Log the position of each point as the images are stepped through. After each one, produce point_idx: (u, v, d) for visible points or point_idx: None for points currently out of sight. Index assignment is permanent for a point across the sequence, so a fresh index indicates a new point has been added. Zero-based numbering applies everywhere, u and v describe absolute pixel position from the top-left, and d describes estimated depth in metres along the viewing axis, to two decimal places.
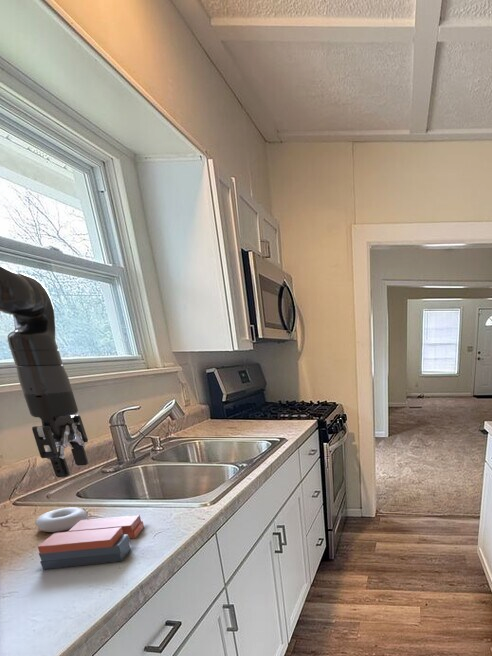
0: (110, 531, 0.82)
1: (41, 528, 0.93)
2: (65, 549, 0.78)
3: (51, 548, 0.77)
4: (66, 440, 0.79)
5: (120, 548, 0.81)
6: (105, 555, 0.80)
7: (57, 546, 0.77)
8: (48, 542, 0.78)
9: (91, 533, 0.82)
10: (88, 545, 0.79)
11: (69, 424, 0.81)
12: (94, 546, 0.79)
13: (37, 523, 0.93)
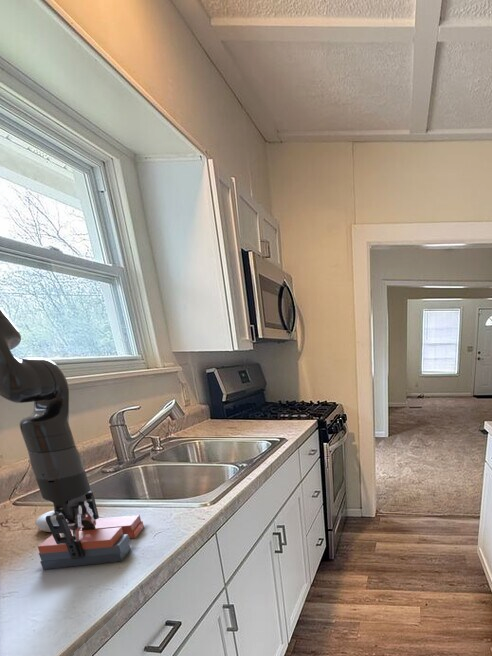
0: (110, 531, 0.82)
1: (41, 528, 0.93)
2: (65, 549, 0.78)
3: (51, 548, 0.77)
4: (78, 521, 0.77)
5: (120, 548, 0.81)
6: (105, 555, 0.80)
7: (57, 545, 0.77)
8: (48, 542, 0.78)
9: (91, 533, 0.82)
10: (88, 545, 0.79)
11: (81, 502, 0.79)
12: (94, 546, 0.79)
13: (37, 523, 0.93)
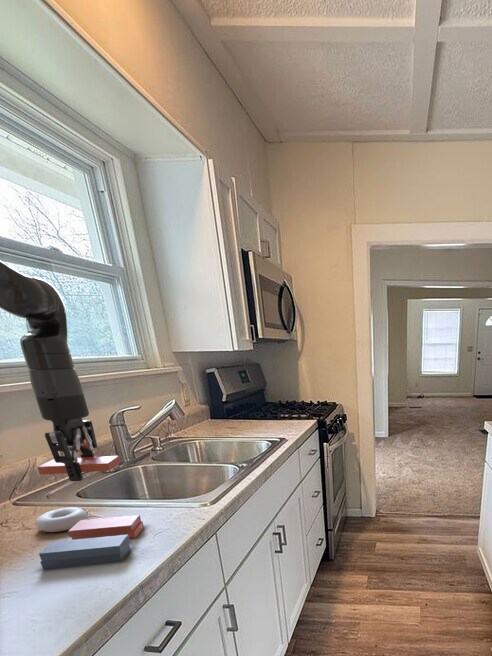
0: (108, 458, 0.85)
1: (41, 528, 0.93)
2: (64, 471, 0.80)
3: (50, 469, 0.80)
4: (77, 443, 0.79)
5: (120, 548, 0.81)
6: (105, 556, 0.80)
7: (56, 467, 0.80)
8: (47, 464, 0.80)
9: (90, 459, 0.84)
10: (86, 468, 0.81)
11: (80, 426, 0.81)
12: (92, 469, 0.81)
13: (37, 523, 0.93)
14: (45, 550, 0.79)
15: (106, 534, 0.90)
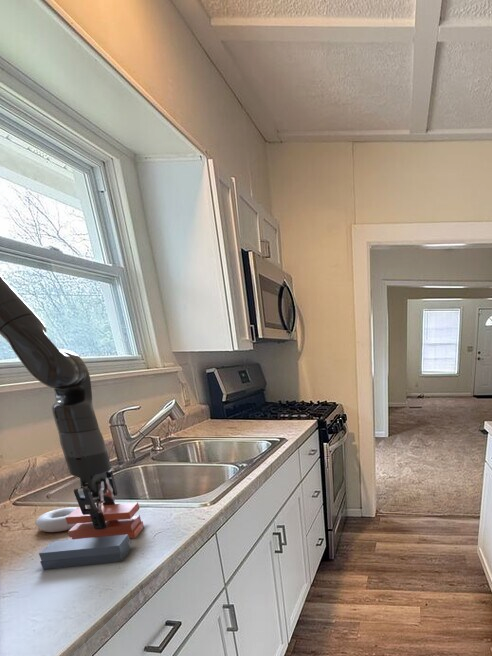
0: (128, 506, 0.92)
1: (41, 528, 0.93)
2: (89, 520, 0.88)
3: (77, 519, 0.87)
4: (101, 495, 0.87)
5: (120, 548, 0.81)
6: (105, 555, 0.80)
7: (82, 517, 0.87)
8: (74, 514, 0.88)
9: (111, 507, 0.92)
10: (109, 517, 0.88)
11: (103, 479, 0.89)
12: (115, 518, 0.89)
13: (37, 523, 0.93)
14: (45, 550, 0.79)
15: (106, 534, 0.90)
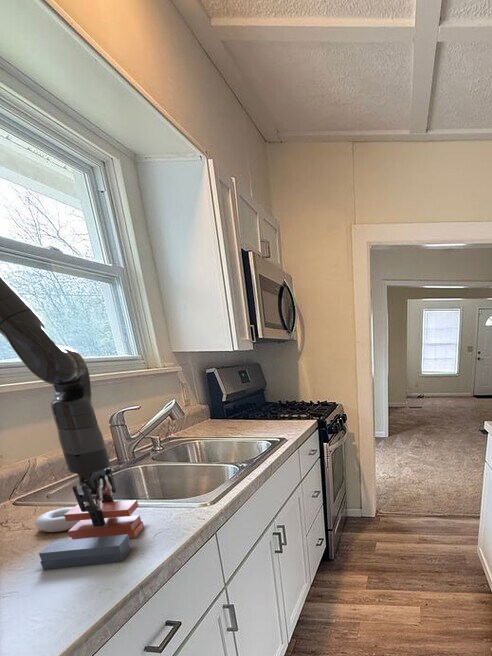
0: (127, 503, 0.92)
1: (41, 528, 0.93)
2: (88, 517, 0.87)
3: (76, 516, 0.87)
4: (100, 492, 0.87)
5: (120, 548, 0.81)
6: (105, 555, 0.80)
7: (81, 514, 0.87)
8: (72, 511, 0.88)
9: (110, 504, 0.91)
10: (108, 514, 0.88)
11: (102, 476, 0.89)
12: (114, 515, 0.89)
13: (37, 523, 0.93)
14: (45, 550, 0.79)
15: (106, 534, 0.90)
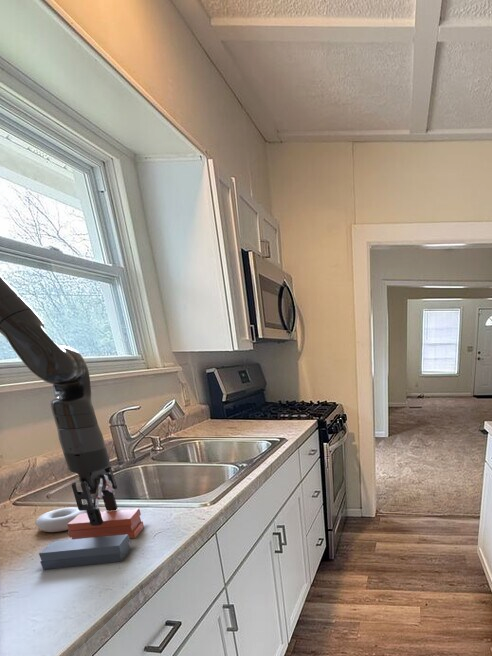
0: (129, 512, 0.93)
1: (41, 528, 0.93)
2: (91, 526, 0.88)
3: (79, 525, 0.88)
4: (100, 492, 0.87)
5: (120, 548, 0.81)
6: (105, 555, 0.80)
7: (84, 523, 0.88)
8: (76, 520, 0.89)
9: (113, 513, 0.92)
10: (111, 523, 0.89)
11: (102, 476, 0.89)
12: (116, 524, 0.89)
13: (37, 523, 0.93)
14: (45, 550, 0.79)
15: (106, 534, 0.90)
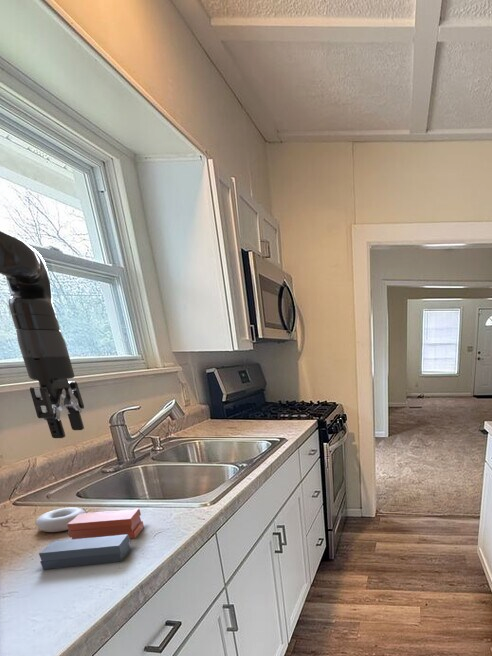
0: (129, 512, 0.93)
1: (41, 528, 0.93)
2: (91, 527, 0.88)
3: (79, 525, 0.88)
4: (62, 403, 0.83)
5: (120, 548, 0.81)
6: (105, 555, 0.80)
7: (84, 523, 0.88)
8: (76, 520, 0.89)
9: (113, 513, 0.92)
10: (111, 523, 0.89)
11: (66, 388, 0.85)
12: (116, 524, 0.89)
13: (37, 523, 0.93)
14: (45, 550, 0.79)
15: (106, 534, 0.90)
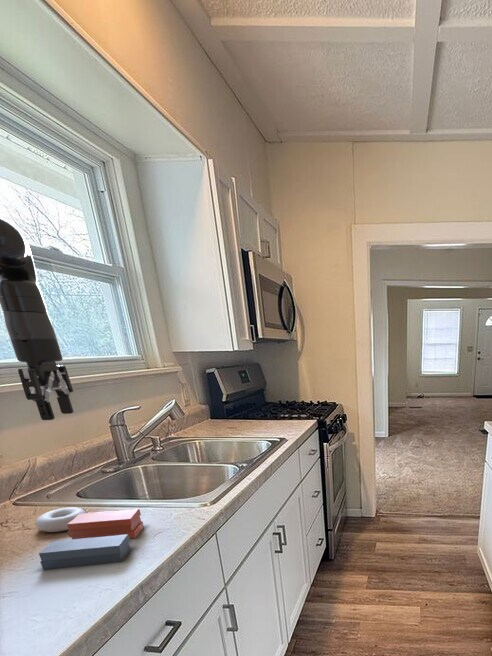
0: (129, 512, 0.93)
1: (41, 528, 0.93)
2: (91, 527, 0.88)
3: (79, 525, 0.88)
4: (51, 385, 0.84)
5: (120, 548, 0.81)
6: (105, 555, 0.80)
7: (84, 523, 0.88)
8: (76, 520, 0.89)
9: (113, 513, 0.92)
10: (111, 523, 0.89)
11: (54, 371, 0.86)
12: (116, 524, 0.89)
13: (37, 523, 0.93)
14: (45, 550, 0.79)
15: (106, 534, 0.90)
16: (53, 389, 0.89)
